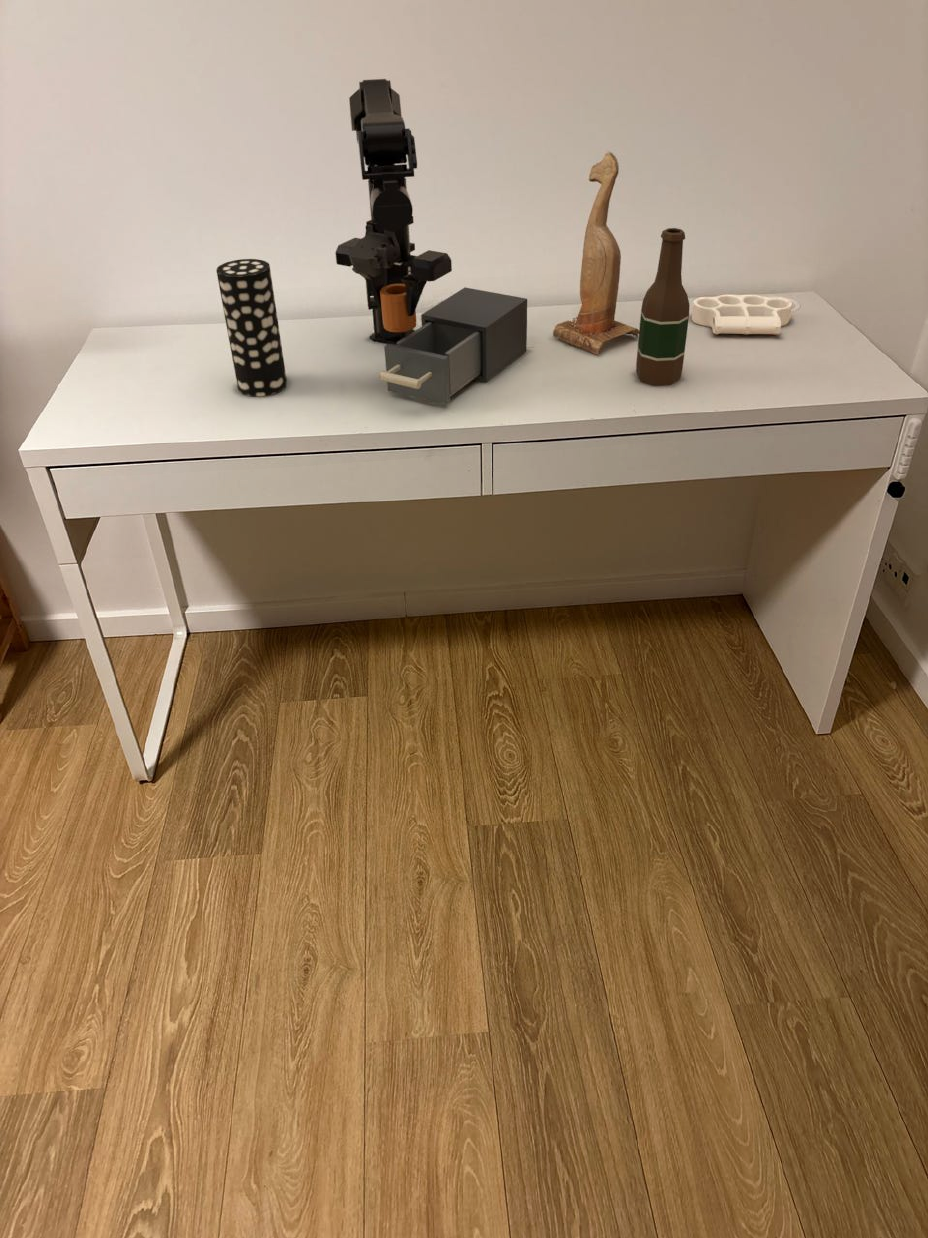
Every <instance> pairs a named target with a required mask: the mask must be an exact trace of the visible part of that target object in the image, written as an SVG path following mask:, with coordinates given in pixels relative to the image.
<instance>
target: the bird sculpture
mask: <svg viewBox="0 0 928 1238" xmlns="http://www.w3.org/2000/svg"><path fill="white" fill-rule="evenodd" d="M619 168H620V166H619V161H618V158H617V157H616V155H615V154H614V153H613V152H611V151H609V150H607V151H606V152H605V154H604V156H603V158H602V160H601V161H599V162H596V163H595V164H593V166H592V167H591V168H590V171H589V174H588V181H589V182H592V183H594V182H595V183H599V184H600V188H599V189H598V190H597V191H598V192H597V193H596V195H595V199H594V202H593V204H592V207H591V210H590V213H589V217H588V220H587V224H586V228H585V231H584V233H585V234H584V238H583V239H584V240H583V250H582V257H581V258H582V259H581V268H580V276H579V277H580V279H579V297H580V302H581V307H580V310H579V312H578V314H577V315H576V317H573V318H572V320H566V321H562V322H560V323H557V324H556V325H555V326H554V329H553V331H552V337H554V338H556V339H558V340H561V341H562V342H566V343H568V344H570V345H572V346H575V347H576V348H581V349H582V350H585V351H587V352H589V353H593V354H595V355H599V353H600V350H601V349H602V346H603V345H604V343H606V342H608V341H610V340H612V339H615V338H617V337H620V336H622V335H624V334H626V335H629V336H630V335H632V336H633V337H636V338H637V339H639V329H638V328H637V327H633V326H631V325H628V324H625V323H622V322H621V321H617V320H615V319H616V317H615V316H616V309H617V302H618V294H619V284H620V277H621V276H620V275H621V263H622V261H621V260H622V254H621V253H622V252H621V249H620V246H619V244H618V242H617V240H616V238H615V236H614V234H613V232H612V231H611V230H610V228H609V227H608V224H607V222H608V216H609V215H608V214H609V208H610V201H611V197H612V193H613V189H614V187H615V184H616V179H617V178H618V175H619V171H620V169H619Z"/></svg>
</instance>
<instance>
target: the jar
mask: <svg viewBox="0 0 928 1238" xmlns="http://www.w3.org/2000/svg"><path fill="white" fill-rule="evenodd" d="M380 296H381V307H382V318H383V325H384V329H386V330H387V331H390V332H406V331H409V330H412V329H413V330H415V328H416V327H417V309H416V310H415V312H414V315H412V316H408V311H407V301H406V286H405V284H391V285H387V286H384V287H383V288H382V289H381V290H380Z"/></svg>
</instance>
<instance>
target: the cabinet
mask: <svg viewBox="0 0 928 1238" xmlns="http://www.w3.org/2000/svg"><path fill="white" fill-rule="evenodd" d="M420 317H421V319H420V320H421V327H422V326H423V325H425V324H426V323H428V322H429V321H433V322H438V323H443V324H448V325H453V326H458V327H463V328H468V329H473V330H478V331H482V360H483V372H482V373H481V374H480V375H478V376H477V377H476V378H474V379H473V380H474V381H479V382H483V383H488V382H490V381H491V380H492V379H493V378H494V377H496V376H498V374H500V373H501V372H502V371H504V370H505V369H506V368H507V367H509V366H510V365H511V364H512V363H514V362H515V361H516V360H518V359H519V358H520V357H521V356H522V355H524V354H525V353H527V349H528V348H527V347H528V346H527V345H528V343H527V342H528V339H527V338H528V298H525V297H521V296H514V295H510V294H504V293H499V292H493V291H486V290H481V289H477V288H470V287H466V286H465V287H463V288H461V289H460V290H458V291H456V292H455V293H454V294H452V295H450V296H449V297H447V298H445V299H444V300H442V301H440V302H439V303H437V304H436V305H434V306H433V307H431V308H429V309H428V310H426V311H425V312H423V313H421V314H420Z"/></svg>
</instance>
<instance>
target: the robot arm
mask: <svg viewBox="0 0 928 1238" xmlns="http://www.w3.org/2000/svg"><path fill="white" fill-rule="evenodd" d="M358 84H359V85H358V89H357V90H356V91H355V92H354V93H353V94H351V95H350V96H349V98H348V101H349V116H350V125H351V126H350V127H351V131H352V132H355V136H356V143H357V144H358V154H359V162H360V164H359V165H360V172H361V180H363V181H364V180H366V181H367V184H368V185H367V186H368V197H369V210H370V219H369V220H367V221H366V222H365V223H366V225H365V234H364V236H363V237H361V238H360V237H353V238H351V239H349V240H347V241H345V242H342V243H340V244H338V246H337V247H336V249H335V253H334V254H335V264H336V265H338V266H344V267H348V268H349V267H350V268H351V267H352V268H351V270H352V271H353V272H354V273H355V274H358V275H359V276H361V277H362V278H363V279H364V281H365V289H366V290H365V292H366V303H367V310H368V311H372V321H373V333H372V334H370V335H369V339H370V340H372V341H378V342H380V343H381V342H382V343H386V344H393V345H397V342H398V341H400V340H401V339H403V338H404V337H406V336H408V335H409V334H411V333H412V332H414V331H415V330H416V329H412V330H409V331H406V332H390V331H387V330H386V329H384V325H383V318H382V307H381V296H380V290H381V289H382V288H383V287H384V286H387V285H391V284H405V286H406V301H407V311H408V316H412V315H414V312H415V310H416V311H417V307H418V304H419V302H420V300H421V296H422V293H423V291H424V288H425V287H426V285H427V282H435V281H437V280H438V279H440V278H442V277H444V276H446V275H447V274H449V273H451V272H452V270H453V267H452V266H453V265H452V258H451V257H450V255H449V254H448V253H447V252H442V251H441V252H440V251H436V250H430V249H428V250H426V251H424V252H421V254H418V255H414V254H411V253H412V252H414V251H416V243H415V242H411V238H410V225H412V224H414V215H413V211H414V210H413V205H412V200H411V198H410V194H409V191H408V188H407V187H408V186H407V178H413V177H415V169H418V159H417V150H416V141H415V135H413V134H412V130H411V129H410V128H406V124H405V123H406V122H405V120H404V118H403V116H402V105H401V96H400V94H399V93H398V92H396V90H394V89H393V88H392V82H391V80H388V79H386V78H375V79H374V78H373V79H363V80H362V81H358ZM366 167H367V170H366Z"/></svg>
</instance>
